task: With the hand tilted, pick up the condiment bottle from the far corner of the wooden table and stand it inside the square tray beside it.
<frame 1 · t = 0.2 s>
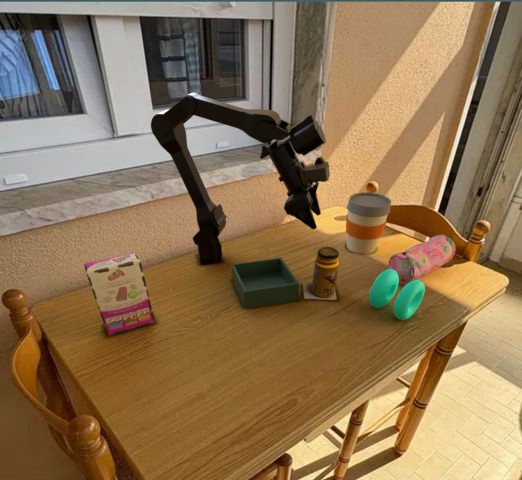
hand: (317, 221, 100), 15 cm above the table, tool tilted 35°, fingers open, 9 cm apart
square tray: (263, 289, 102), on the table
donuts: (391, 312, 95), on the table
pencil case: (416, 273, 109), on the table
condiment: (319, 292, 101), on the table
reusable coffee cup: (360, 247, 121), on the table
candy bar box: (129, 324, 90), on the table
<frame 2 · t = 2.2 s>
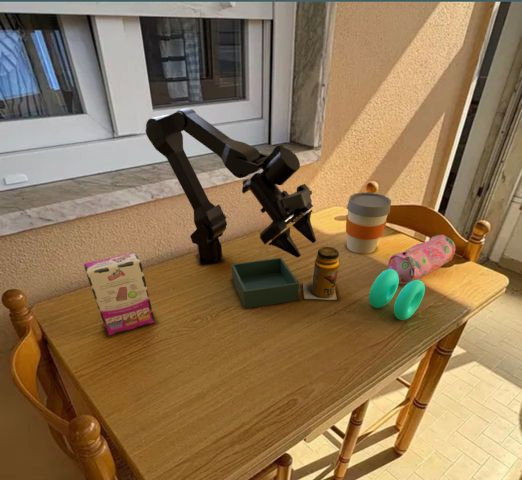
hand: (307, 249, 96), 11 cm above the table, tool tilted 45°, fingers open, 9 cm apart
nothing on the table moved.
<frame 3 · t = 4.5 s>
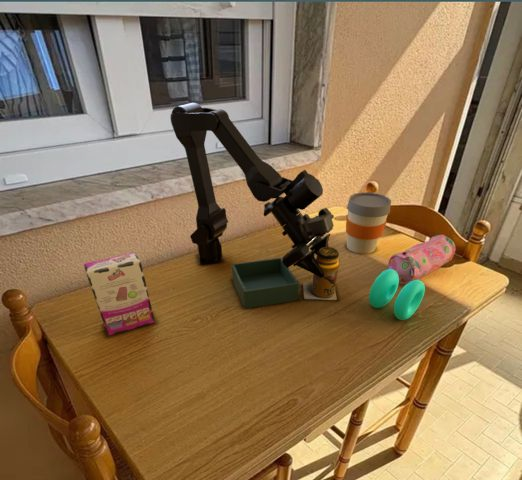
hand: (327, 271, 96), 7 cm above the table, tool tilted 45°, fingers closed on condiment, 6 cm apart
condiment: (319, 292, 101), on the table, touching gripper
everything else where it was.
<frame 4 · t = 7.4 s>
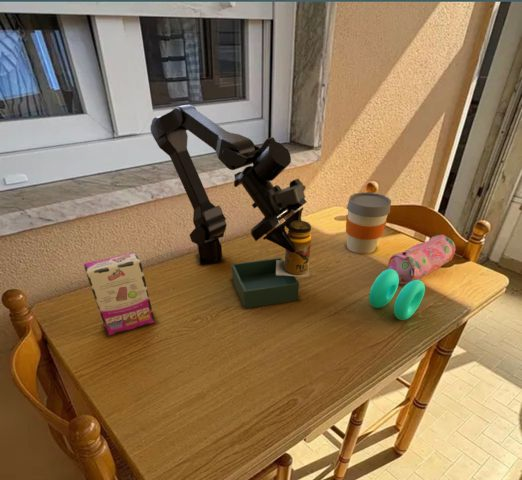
hand: (300, 246, 93), 13 cm above the table, tool tilted 45°, fingers closed on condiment, 6 cm apart
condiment: (292, 269, 98), point 6 cm above the table, touching gripper
everything else where it was.
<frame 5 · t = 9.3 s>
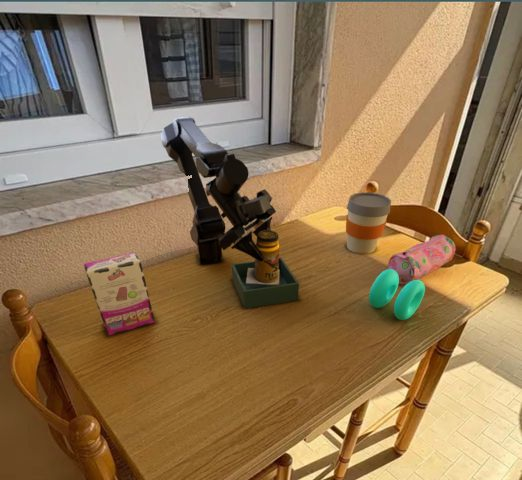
hand: (268, 255, 95), 10 cm above the table, tool tilted 45°, fingers closed on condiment, 6 cm apart
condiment: (263, 277, 100), point 4 cm above the table, touching gripper
everything else where it was.
when the fingers open (7 cm above the table, at t = 10.7 s): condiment stays where it is, resting on square tray.
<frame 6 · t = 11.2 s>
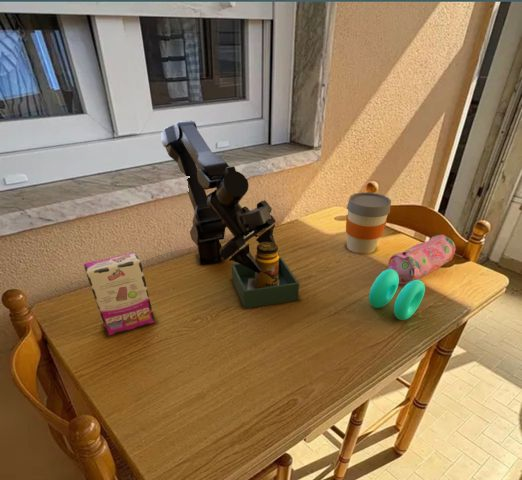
hand: (269, 264, 96), 8 cm above the table, tool tilted 45°, fingers open, 9 cm apart
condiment: (263, 287, 102), point 1 cm above the table, touching square tray
everything else where it was.
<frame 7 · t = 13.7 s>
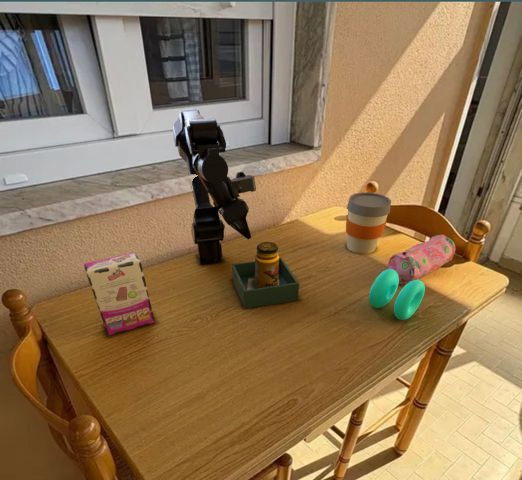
hand: (246, 234, 100), 12 cm above the table, tool tilted 30°, fingers open, 9 cm apart
nothing on the table moved.
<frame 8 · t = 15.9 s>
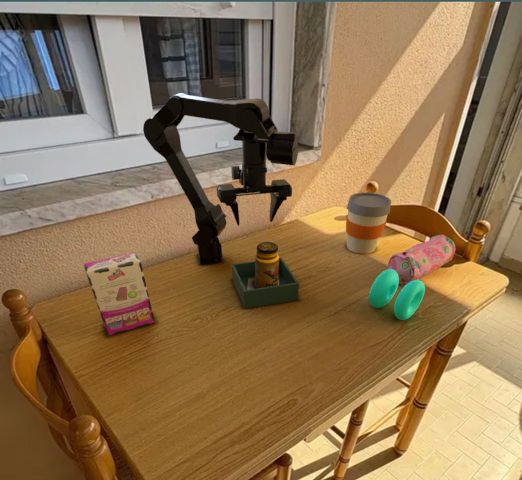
hand: (254, 223, 103), 13 cm above the table, tool pointing down, fingers open, 9 cm apart
nothing on the table moved.
at the end: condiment inside the target area in the square tray (0.2 cm from its centre), point 0.6 cm above the square tray's base; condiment tilted 0°; the gripper is holding nothing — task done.
